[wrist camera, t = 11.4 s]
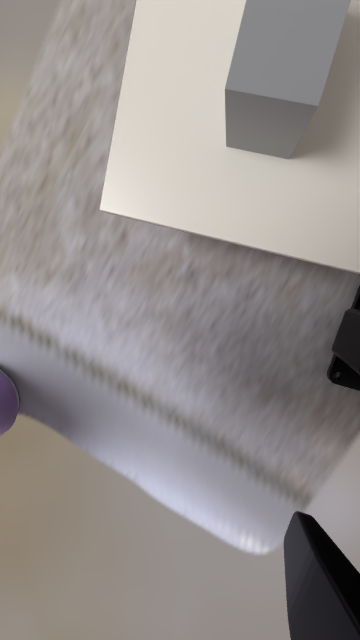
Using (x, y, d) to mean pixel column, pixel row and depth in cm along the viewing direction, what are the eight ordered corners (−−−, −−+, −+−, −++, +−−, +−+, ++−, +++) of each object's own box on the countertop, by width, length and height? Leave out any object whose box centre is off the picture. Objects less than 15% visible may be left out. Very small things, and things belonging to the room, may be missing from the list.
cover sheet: (497, -64, 10) (736, -357, 5) (368, 276, 13) (453, 283, 8) (166, -102, 12) (121, -366, 7) (108, 213, 14) (45, 186, 9)
